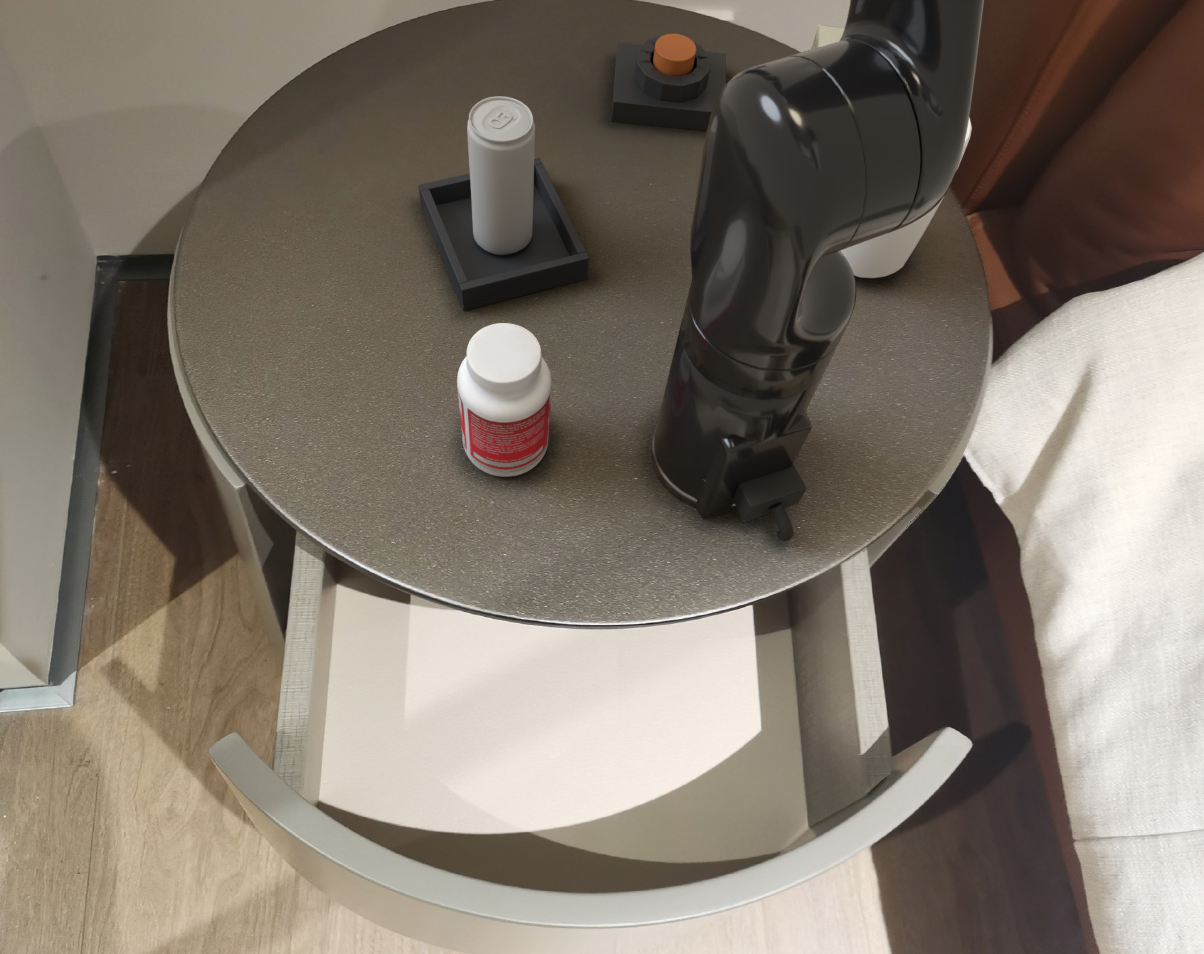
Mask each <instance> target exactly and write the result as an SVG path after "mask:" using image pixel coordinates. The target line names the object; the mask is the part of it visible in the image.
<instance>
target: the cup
mask: <svg viewBox="0 0 1204 954" xmlns="http://www.w3.org/2000/svg"><path fill="white" fill-rule="evenodd" d="M972 129H973V125H972V122H971V118H970V116H969V121H968V127H967V133H966V138H965V143H964V147H963V151H962V155H961V159H960V162H959V165H958V168H957V170H958V169H959V167H960V164H961V163H962V162H961V161H962V159H963V157H964V154H965V152H966V149H967V147H968V145H969V142H970V139H971V134H972ZM944 198H945V196H944V197H943V198H942V200H941V201H940V202H939V203H938V204H937V206H936V207H935V208H934V209H933V210H931V211H930V212H929V213H927V214H926V215H925V216H923V217H922V218H920V219H918V220H917V221H915V222H913V223H911V224H909V225H907V226H905V227H903V228H900V229H898V230H895V231H893V232H890V233H887V234H884V235H882V236H879V237H876V238H874V239H871V240H868V241H865V242H863V243H860V244H857V245H854V246H852V247H849V248H846V249H843V250H841V252H842V254H843V255H844V256H845V258H846V259H847V261H848V262H849V264H850V266H851V269H852V271H853V274H854V277H857V278H865V279H866V278H867V279H877V278H884V277H887V276H890V275H893V274H896V272H898V271H900V270H901V269H902V268H904V266H905V264H906V263H907V261H908V260H909V258H910V257H911V255H912V254H913V252H914V250H915V249H916V247H917V246H918V244H919V242H920V240H921V239H922V237H923V235H924V233H925V232H926V230H927V228H928V227H929V225H930V223H931V221H932V219H933V218H934V216H935V214H936V212H937V211H938V208H939V207H940V205H941V203H942V201H943V200H944Z"/></svg>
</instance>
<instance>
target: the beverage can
mask: <svg viewBox="0 0 1204 954" xmlns="http://www.w3.org/2000/svg"><path fill="white" fill-rule="evenodd" d="M533 115H534V114H533V112H532V111H531V109H530V108H529V107H528V105H526V104H525V103H523V102H522V101H521V100H518V99H516V98H513V97H510V96H502V95H501V96H497V95H496V96H489V97H486V98H483V99H481V100H480V101H478V102H476V104H474V105H473V106H472V108H471V109H470V111H469V113H468V120H467V126H466V127H467V128H466V129H467V131H466V132H467V133H466V134H467V146H468V147H467V149H468V150H467V152H468V165H469V173H470V183H471V200H472V220H473V235H474V239H475V241H476V242H477V244H478V245H479V246H480V247H481V248H483V249H484V250H485V251H487V252H489V253H492V254H495V255H509V254H513V253H516V252H518V251H520V250H521V249H523V248H525V247H526V246H527V245H528V244H529V242H530V240H531V238H532V228H533V187H534V159H535V147H536V145H535V144H536V143H535V142H536V140H535V139H536V125H535V121H534V116H533Z"/></svg>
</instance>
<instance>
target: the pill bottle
mask: <svg viewBox="0 0 1204 954" xmlns="http://www.w3.org/2000/svg"><path fill="white" fill-rule="evenodd" d="M467 344H468V345H467V348H466V355H465V357H464V359H463V360H462V362H461V364H460V365H459V368H458V372H457V376H456V377H457V378H456V387H457V396H458V397H457V398H458V407H459V418H460V428H461V439H462V440H461V441H462V446H463V449H464V452H465V454H466V456H467V457H468V460H469V461H470V462H471V463H472V464H473V465H474V466H475V467H476V468H478V469H479V470H480V471H482V472H484V473H486V474H487V475H491V476H495V477H504V478H505V477H507V478H508V477H516V476H520V475H522V474H525V473H527V472H529V471H531V470H533V468H535V467H536V466H538V464H540V462H541V461H542V460H543V458H544V456H545V455H546V452H547V449H548V446H549V439H550V438H549V437H550V422H551V401H552V400H551V399H552V375H551V371H550V367H549V365H548V364H547V362H546V360H545V359H544V357H543V356H542V348H541V344H540V342H539V340H538V339H537V337H536V335H534V333H532V332H531V331H530V330H528V329H527V328H525V327H523V326H521V325H518V324H515V323H509V322H500V323H499V322H498V323H493V324H489V325H486V326H484V327H482V328H481V329H479V330H478V331H476V332H475V334H473V336H472V337H471V338H470V339H469V342H468V343H467Z"/></svg>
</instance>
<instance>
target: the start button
mask: <svg viewBox="0 0 1204 954" xmlns="http://www.w3.org/2000/svg"><path fill="white" fill-rule="evenodd" d="M663 35H664V36H663ZM663 35H661V36H662V37H660V38H659V39H658V40H657V41H656V44H655V51H654V57H653V64H654V67H655V68H656V70H658V71H660V72H662V73H664V74H666V75H671V76H683V75H686V74H689V73H690V72H691V71H692V69H693V65H694V60H695V55H696V46H695V44H694V42H695V41H693V40H692V39H691V38H689V37H687V36H686V35H683V34H679V33H667V34H663Z"/></svg>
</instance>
